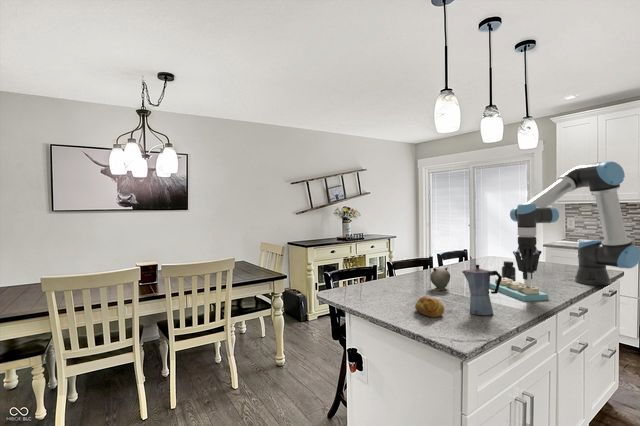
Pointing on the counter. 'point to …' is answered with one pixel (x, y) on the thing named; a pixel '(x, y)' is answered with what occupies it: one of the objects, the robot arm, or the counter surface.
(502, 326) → the counter surface
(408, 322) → the counter surface
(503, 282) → the key one
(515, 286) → the key two
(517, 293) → the teal puzzle board
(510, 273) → the supplement bottle
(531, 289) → the key three
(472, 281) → the moka pot
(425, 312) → the bread roll
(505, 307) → the counter surface
